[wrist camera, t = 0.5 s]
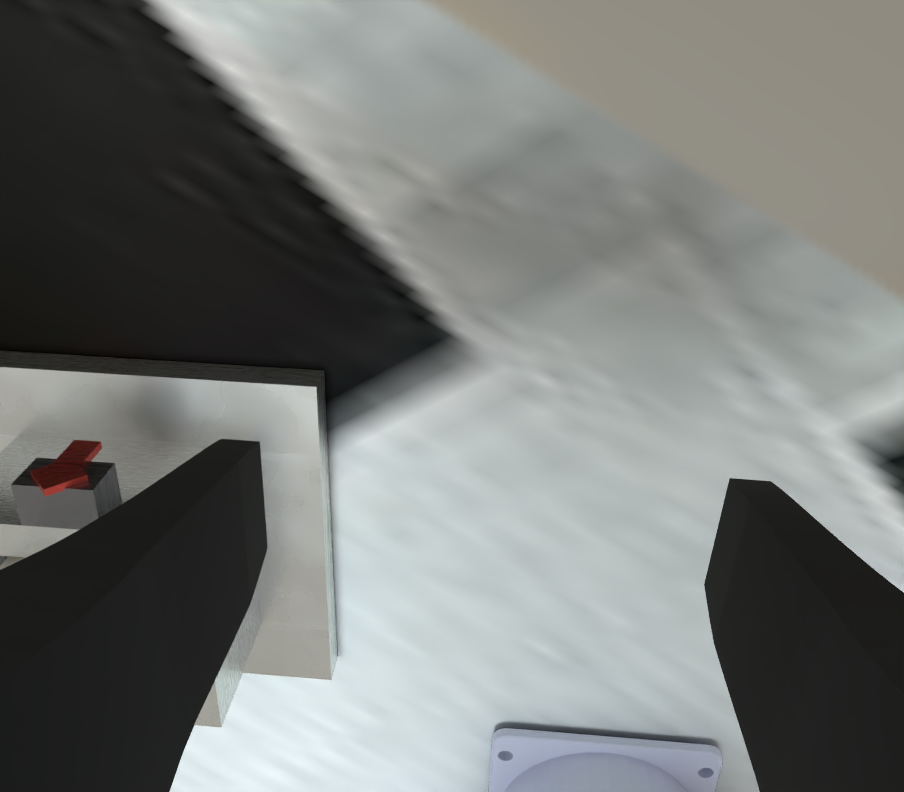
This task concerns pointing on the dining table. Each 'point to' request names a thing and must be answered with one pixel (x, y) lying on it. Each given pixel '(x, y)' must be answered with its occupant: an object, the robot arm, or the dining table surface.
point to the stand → (157, 454)
